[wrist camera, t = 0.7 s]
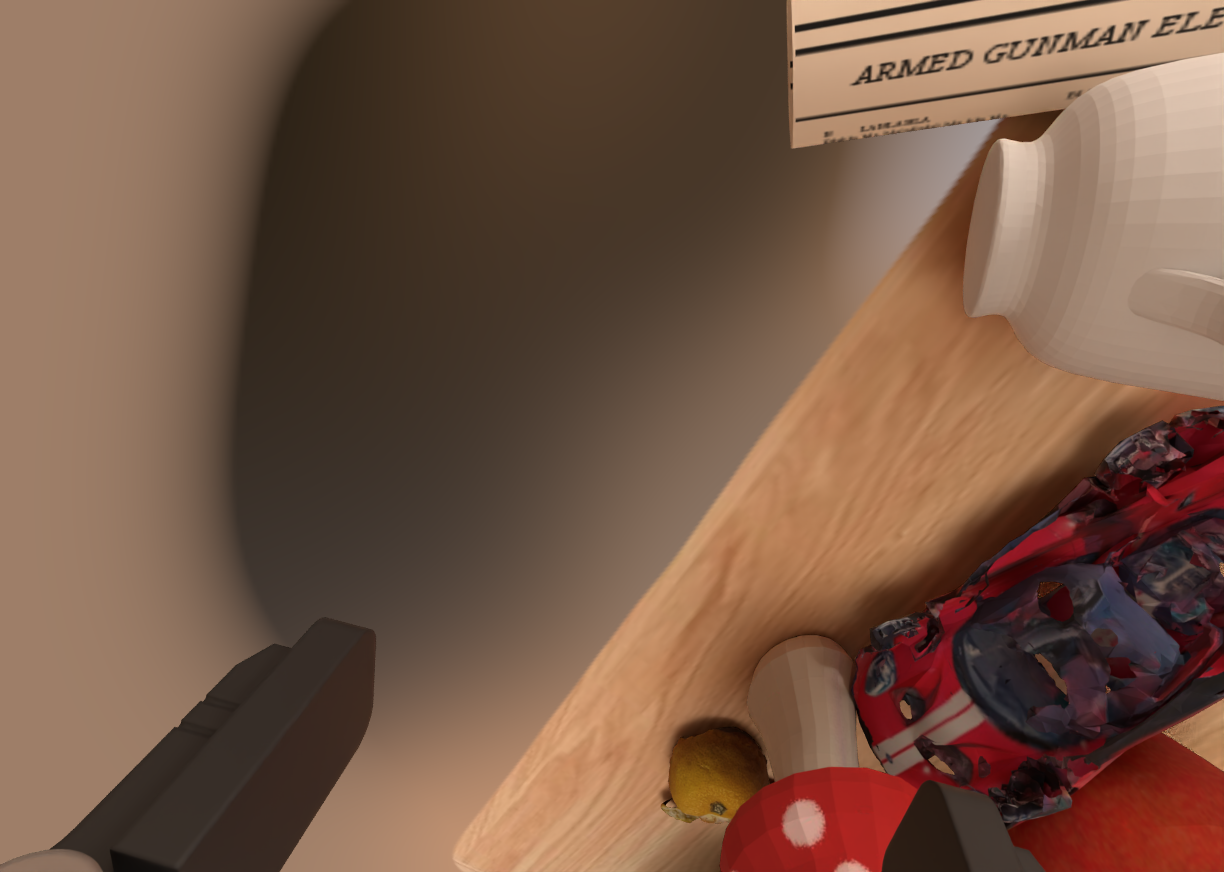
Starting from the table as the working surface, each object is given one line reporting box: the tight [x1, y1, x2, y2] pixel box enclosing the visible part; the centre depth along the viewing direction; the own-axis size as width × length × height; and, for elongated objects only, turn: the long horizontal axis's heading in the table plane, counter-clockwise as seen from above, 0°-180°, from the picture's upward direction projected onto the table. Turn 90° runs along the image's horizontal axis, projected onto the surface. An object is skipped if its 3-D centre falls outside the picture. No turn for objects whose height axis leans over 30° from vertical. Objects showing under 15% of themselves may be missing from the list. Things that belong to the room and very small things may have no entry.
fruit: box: [661, 727, 769, 824], centre depth 38 cm, size 8×8×4 cm
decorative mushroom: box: [720, 635, 918, 872], centre depth 29 cm, size 10×9×15 cm
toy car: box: [851, 406, 1224, 830], centre depth 27 cm, size 10×22×5 cm
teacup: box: [963, 53, 1224, 401], centre depth 19 cm, size 12×15×10 cm
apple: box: [1007, 733, 1224, 872], centre depth 29 cm, size 11×11×12 cm
